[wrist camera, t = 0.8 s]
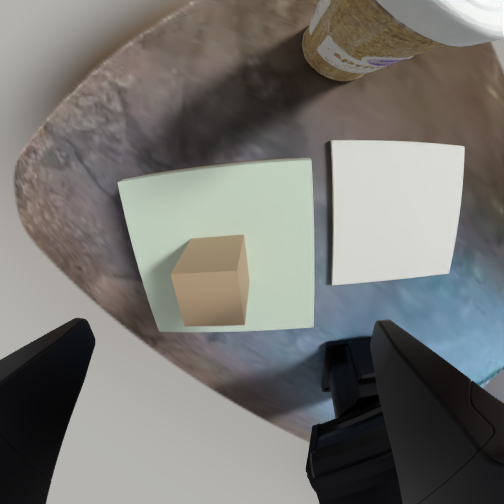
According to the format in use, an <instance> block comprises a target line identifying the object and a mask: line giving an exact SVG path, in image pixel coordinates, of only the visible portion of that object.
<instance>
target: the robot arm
mask: <svg viewBox="0 0 504 504" xmlns="http://www.w3.org/2000/svg"><path fill="white" fill-rule="evenodd" d="M94 347H95V337H94V335H93V332H92V330H91V328H90V325H89V323H88V321H87V320H86V319H82V318H75V319H73V320H71V321H69V322H67V323H65V324H64V325H62V326H60V327H58V328H56V329H55V330H53V331H51V332H49V333H47V334H45V335H44V336H42V337H40V338H38V339H37V340H35V341H33V342H31V343H30V344H28V345H26V346H24V347H22V348H20V349H19V350H17V351H15V352H13V353H12V354H10V355H8V356H7V357H5V358H3V359H1V360H0V504H46V501H47V496H48V492H49V488H50V484H51V479H52V476H53V472H54V469H55V465H56V461H57V458H58V455H59V452H60V448H61V445H62V442H63V439H64V436H65V433H66V430H67V427H68V424H69V421H70V418H71V415H72V412H73V410H74V407H75V404H76V401H77V398H78V396H79V393H80V391H81V388H82V385H83V383H84V380H85V377H86V373H87V370H88V366H89V363H90V360H91V356H92V353H93V350H94ZM330 347H333V348H330ZM321 388H322V391H323V392H331V394H332V400H333V406H334V412H335V419H333V420H331V421H328V422H325V423H322V424H317V425H314V426H312V433H311V439H310V445H309V453H308V458H307V465H306V472H307V477H308V479H309V481H310V484H311V486H312V488H313V489H314V491H315V492H316V493H317V496H318V499H319V503H320V504H504V403H503V402H501V401H500V400H498V399H497V398H495V397H494V396H492V395H491V394H490V393H488V392H487V391H485V390H484V389H483V388H481V387H480V386H479V385H477V384H476V383H475V382H473V381H471V379H469V378H468V377H467V376H465V375H464V374H463V373H461V372H460V371H459V370H458V369H456V368H455V367H454V366H452V365H451V364H450V363H448V362H447V361H446V360H444V359H443V358H442V357H440V356H439V355H437V354H436V353H435V352H433V351H432V350H431V349H429V348H428V347H427V346H425V345H424V344H423V343H421V342H420V341H419V340H417V339H416V338H414V337H413V336H412V335H410V334H409V333H408V332H406V331H405V330H403V329H402V328H401V327H399V326H398V325H397V324H395V323H394V322H392V321H391V320H388V319H387V320H378V321H376V323H375V325H374V330H373V334H372V337H370V338H362V339H354V340H345V341H335V342H329V343H327V344H326V345H325V352H324V364H323V375H322V385H321Z"/></svg>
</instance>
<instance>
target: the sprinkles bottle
mask: <svg viewBox="0 0 504 504" xmlns="http://www.w3.org/2000/svg"><path fill="white" fill-rule="evenodd" d="M500 39H504V0H320V1H319V4H318V6H317V8H316V10H315V12H314V14H313V16H312V19H311V22H310V25H309V26H308V27H307V29H306V30H305V32H304V34H303V41H302V48H303V54H304V57H305V59H306V60H307V62H308V63H309V64H310V66H311V67H312V68H313V69H315V70H316V71H317V72H318V73H320V74H321V75H323V76H325V77H327V78H330V79H333V80H339V81H351V80H355V79H358V78H360V77H362V76H363V75H364V74H365V73H369V72H373V71H376V70H378V69H381V68H383V67H386V66H389V65H391V64H394V63H397V62H400V61H403V60H405V59H409V58H411V57H413V56H414V55H416V54H419V53H422V52H425V51H428V50H431V49H434V48H437V47H441V46H445V45H451V46H470V45H476V44H481V43H486V42H491V41H495V40H500Z"/></svg>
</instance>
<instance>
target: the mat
mask: <svg viewBox="0 0 504 504" xmlns="http://www.w3.org/2000/svg"><path fill="white" fill-rule="evenodd" d="M330 142H331V164H332V205H333V236H332V278H331V283H332V285H341V284H353V283H364V282H375V281H385V280H395V279H405V278H414V277H423V276H432V275H440V274H448V273H449V270H450V266H451V261H452V256H453V251H454V245H455V240H456V234H457V227H458V220H459V213H460V205H461V196H462V185H463V171H464V146H458V145H448V144H437V143H424V142H408V141H384V140H330Z"/></svg>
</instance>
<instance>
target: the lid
mask: <svg viewBox="0 0 504 504" xmlns="http://www.w3.org/2000/svg"><path fill="white" fill-rule="evenodd" d="M118 187H119V192H120V197H121V201H122V206H123V210H124V214H125V219H126V223H127V227H128V231H129V235H130V239H131V243H132V246H133V250H134V254H135V257H136V261H137V264H138V268H139V271H140V275H141V278H142V281H143V285H144V288H145V291H146V294H147V298H148V301H149V304H150V307H151V310H152V313H153V316H154V319H155V322H156V324H157V327H158V330H159V332H235V331H261V330H280V329H296V328H310V327H313V326H314V210H313V183H312V163H311V159H310V158H296V159H280V160H266V161H254V162H243V163H233V164H223V165H214V166H206V167H198V168H190V169H183V170H176V171H169V172H163V173H156V174H150V175H144V176H138V177H133V178H127V179H123V180H121V181H119V182H118Z"/></svg>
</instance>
